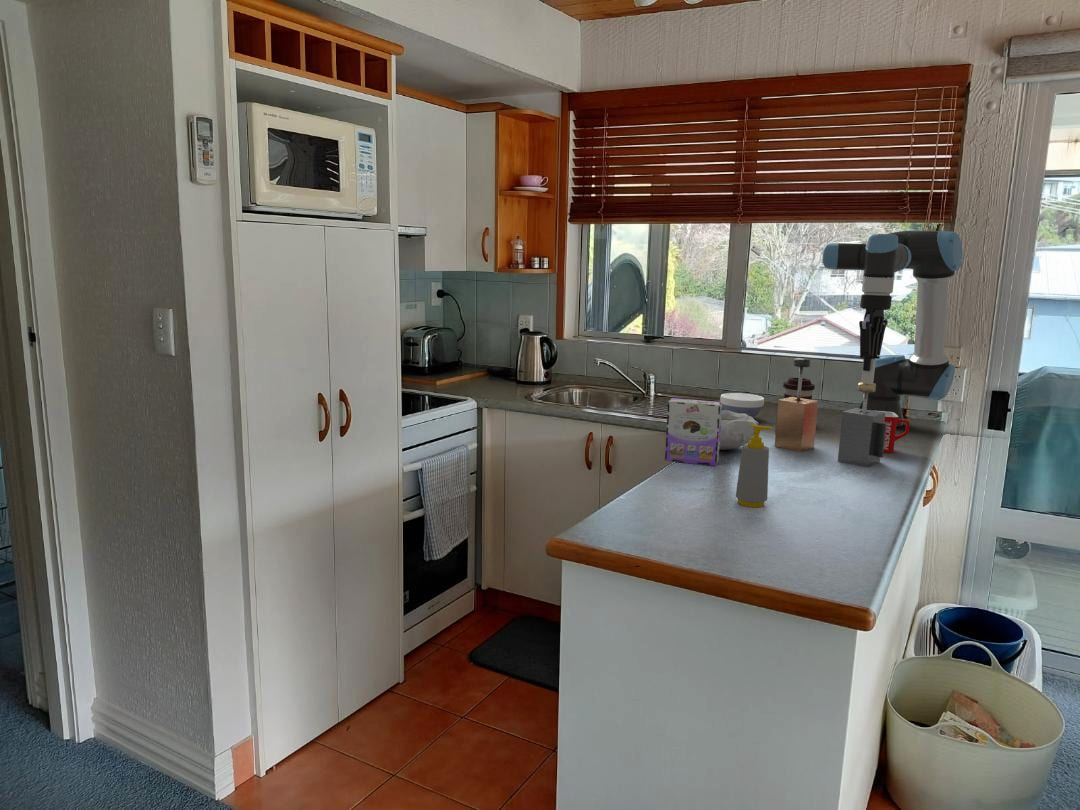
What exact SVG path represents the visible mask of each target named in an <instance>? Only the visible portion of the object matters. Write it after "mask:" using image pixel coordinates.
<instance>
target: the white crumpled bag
mask: <svg viewBox="0 0 1080 810" xmlns="http://www.w3.org/2000/svg"><path fill="white" fill-rule="evenodd" d="M750 424H754V425H759V422H758V421H757V420H755V418H754V419H753V418H752V417H751V416H748V415H747V414H738V413H735V412H732V411H729V410H724V409H723V410H722V414H721V433H720V447H719V451H720V450H721V451H722V450H723V451H729V450H736V449H738V448H739V449H740V448H742V446H743V445H746V444H748V441H751V437H753V436H754V427H753V426H750ZM759 426H760V425H759Z"/></svg>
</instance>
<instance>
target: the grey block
mask: <svg viewBox="0 0 1080 810" xmlns="http://www.w3.org/2000/svg"><path fill="white" fill-rule="evenodd" d="M884 421H885V413H884V412H878V411H871V410H866V413H862V409H859V407H854V408H851V409H847V410H844V411H842V415H841V426H840V434H839V435H840V436H839V445H838V453H837V454H838V456H837V462H842V463H846V464H849V465H856V466H859V467H865V468H870V467H872V466H874V465H876V464H880V462H881V458H883V457H884V453H883V452H884V443H885V434H886V425H887V424H884Z"/></svg>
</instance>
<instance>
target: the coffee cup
mask: <svg viewBox="0 0 1080 810" xmlns="http://www.w3.org/2000/svg"><path fill="white" fill-rule="evenodd" d="M798 380H799V377H788V380H787V381H784V382H783V384H782V385H783V386H782V387H783V388H784V393H783V399H784V398H789V397H797V391H798ZM815 388H816V387H815V384H814V383H812V381H811V379H809V378H804V377H802V387H801V398H803V399H810V400H813V391H814V390H815Z"/></svg>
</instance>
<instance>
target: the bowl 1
mask: <svg viewBox="0 0 1080 810" xmlns="http://www.w3.org/2000/svg"><path fill="white" fill-rule="evenodd" d="M719 402H722V410H723V411H724V410H729V411H732V412H735V413H738V414H747V415H748V416H751V417H752V418H753V419H754V420H755V418H756V416H758V415H759V413H760V411H761V410H762V408H763V407H764V404H765V398H764V396H761V395H757V394H753V393H744V392H743V393H740V392H726V393H722V394H721V395H720V398H719Z"/></svg>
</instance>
